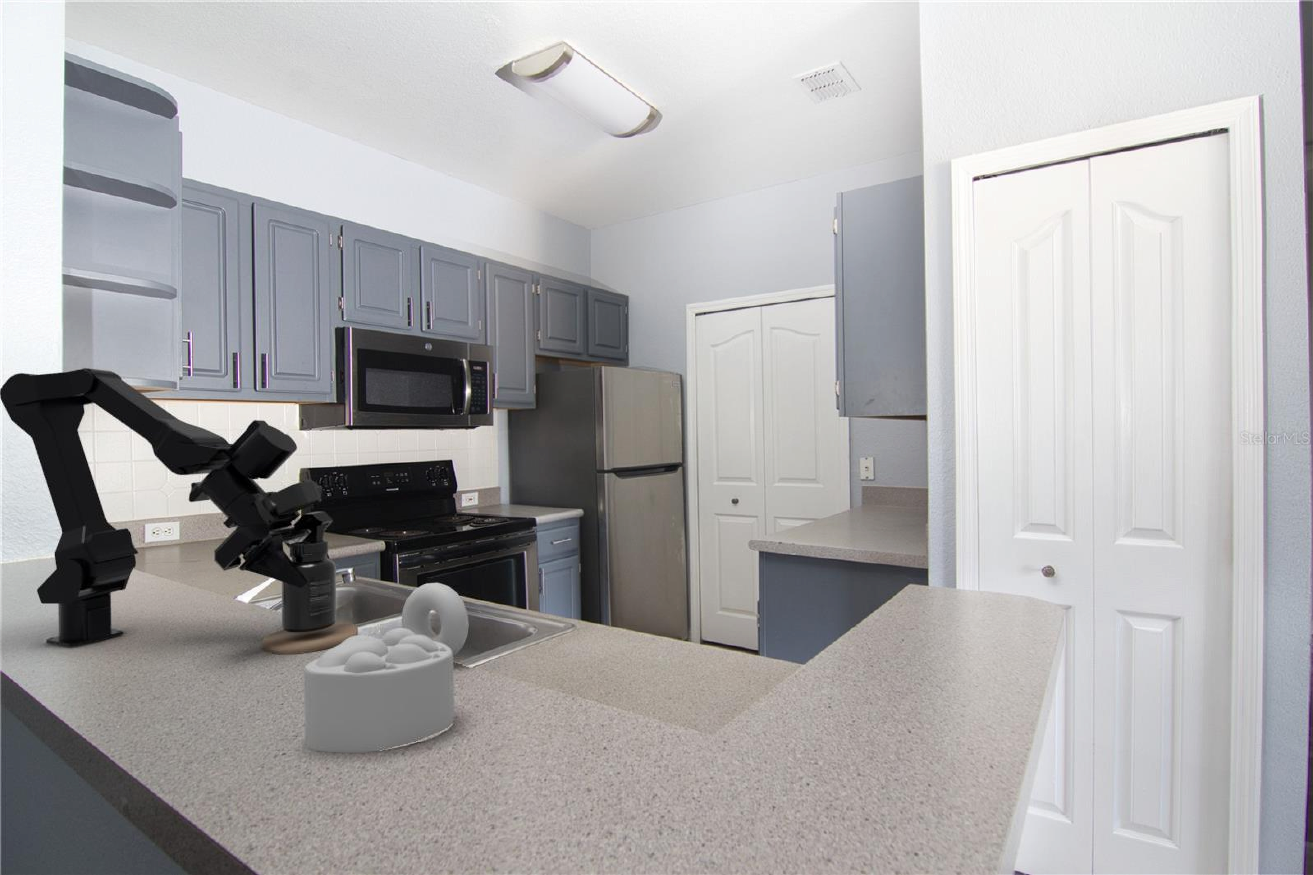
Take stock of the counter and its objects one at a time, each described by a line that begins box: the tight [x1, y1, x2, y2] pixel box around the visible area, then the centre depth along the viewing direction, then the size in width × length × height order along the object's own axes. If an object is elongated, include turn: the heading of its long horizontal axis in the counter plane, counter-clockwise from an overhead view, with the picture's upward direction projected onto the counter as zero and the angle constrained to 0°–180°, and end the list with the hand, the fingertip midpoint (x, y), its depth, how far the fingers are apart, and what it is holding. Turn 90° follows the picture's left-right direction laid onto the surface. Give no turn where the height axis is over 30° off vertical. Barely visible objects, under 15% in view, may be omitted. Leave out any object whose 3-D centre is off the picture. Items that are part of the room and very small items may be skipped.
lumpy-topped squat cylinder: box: [303, 627, 455, 753], centre depth 63 cm, size 10×13×9 cm
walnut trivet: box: [261, 621, 359, 655], centre depth 91 cm, size 12×12×1 cm
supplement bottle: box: [281, 540, 337, 633], centre depth 91 cm, size 7×7×12 cm
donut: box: [401, 582, 470, 657], centre depth 81 cm, size 10×3×10 cm, turn 65°
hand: (318, 579), depth 91 cm, fingers closed on supplement bottle, 7 cm apart
